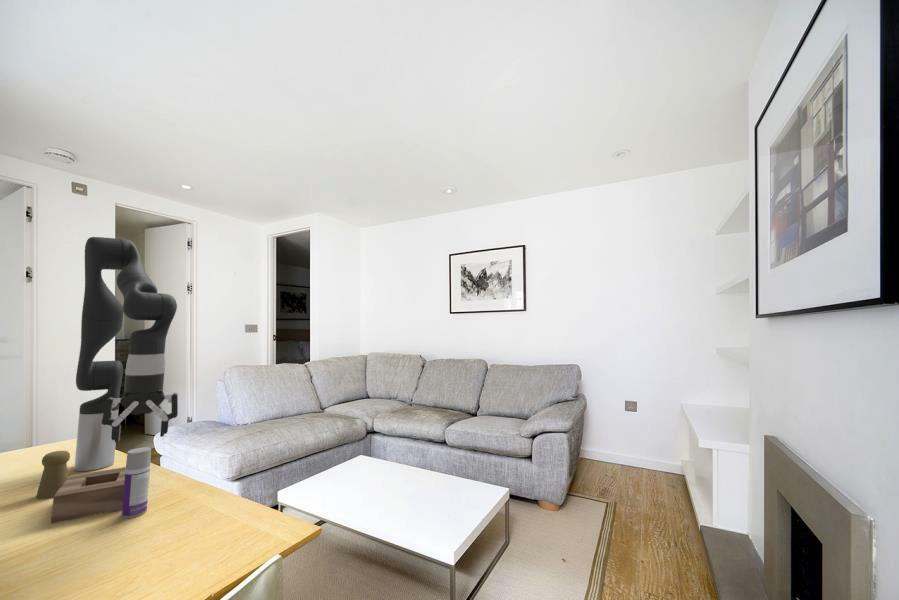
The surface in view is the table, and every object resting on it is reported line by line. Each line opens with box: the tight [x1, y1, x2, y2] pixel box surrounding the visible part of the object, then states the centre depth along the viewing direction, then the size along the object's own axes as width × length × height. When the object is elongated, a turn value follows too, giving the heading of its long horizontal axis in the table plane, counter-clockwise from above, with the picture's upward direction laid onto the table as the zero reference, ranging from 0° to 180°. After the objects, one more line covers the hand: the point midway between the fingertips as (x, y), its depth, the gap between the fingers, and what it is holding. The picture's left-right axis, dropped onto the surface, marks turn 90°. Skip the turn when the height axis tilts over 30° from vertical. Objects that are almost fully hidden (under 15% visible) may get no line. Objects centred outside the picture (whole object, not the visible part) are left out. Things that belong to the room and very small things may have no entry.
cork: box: [35, 450, 71, 500], centre depth 99 cm, size 6×6×11 cm
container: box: [121, 446, 152, 519], centre depth 90 cm, size 5×5×15 cm
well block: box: [50, 466, 126, 524], centre depth 94 cm, size 14×14×6 cm
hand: (140, 438), depth 91 cm, fingers open, 8 cm apart
